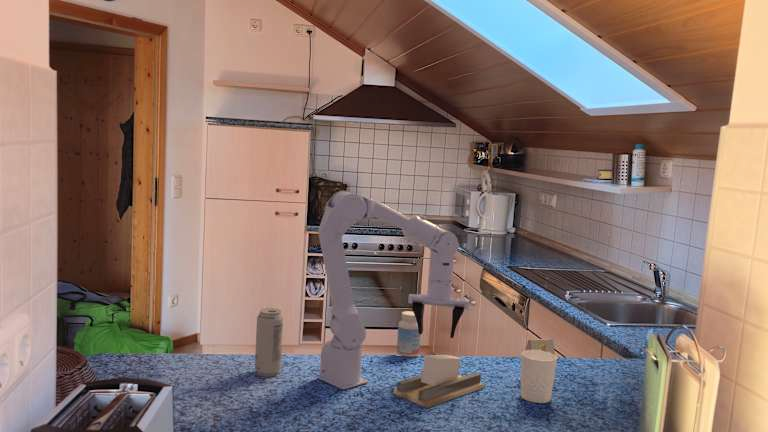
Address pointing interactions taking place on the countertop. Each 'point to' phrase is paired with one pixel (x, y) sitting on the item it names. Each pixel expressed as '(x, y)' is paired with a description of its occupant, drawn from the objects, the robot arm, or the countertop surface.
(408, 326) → the pill bottle
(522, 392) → the white cup
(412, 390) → the sliding track
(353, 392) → the countertop surface
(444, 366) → the cream rectangular block
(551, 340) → the white red printed box
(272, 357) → the energy drink can
